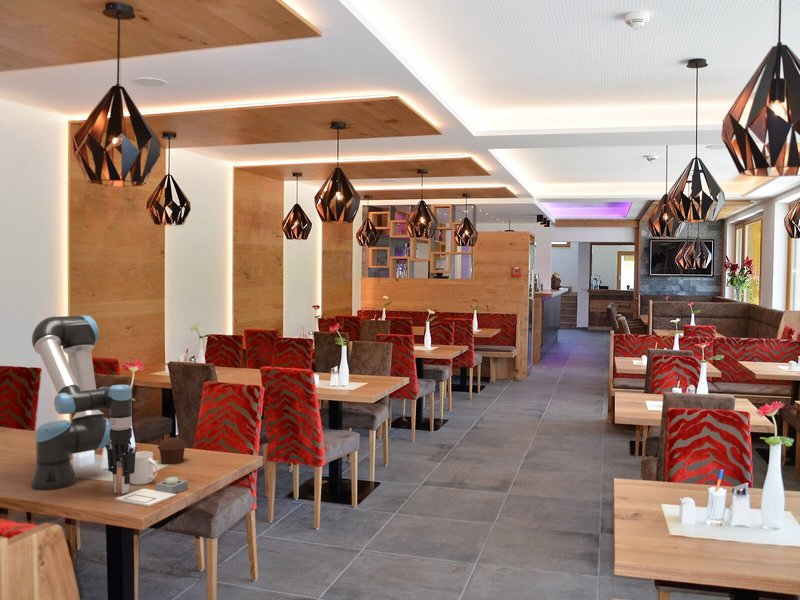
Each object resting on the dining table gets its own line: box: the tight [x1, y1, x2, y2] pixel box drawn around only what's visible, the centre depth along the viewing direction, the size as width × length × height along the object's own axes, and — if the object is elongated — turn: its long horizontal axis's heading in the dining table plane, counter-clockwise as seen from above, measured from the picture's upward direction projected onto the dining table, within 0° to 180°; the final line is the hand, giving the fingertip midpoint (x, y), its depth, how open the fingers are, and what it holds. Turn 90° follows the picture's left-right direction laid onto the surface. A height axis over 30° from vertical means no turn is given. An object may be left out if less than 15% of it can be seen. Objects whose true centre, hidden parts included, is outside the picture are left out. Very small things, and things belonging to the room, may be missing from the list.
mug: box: [129, 450, 158, 486], centre depth 271 cm, size 9×12×11 cm
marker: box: [116, 460, 127, 496], centre depth 257 cm, size 3×3×12 cm
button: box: [164, 476, 179, 485], centre depth 260 cm, size 4×4×3 cm
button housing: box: [155, 479, 189, 495], centre depth 260 cm, size 8×8×3 cm
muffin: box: [157, 437, 187, 465], centre depth 300 cm, size 12×11×10 cm
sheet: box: [115, 488, 177, 507], centre depth 252 cm, size 16×13×1 cm
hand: (121, 491), depth 257 cm, fingers closed on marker, 3 cm apart
